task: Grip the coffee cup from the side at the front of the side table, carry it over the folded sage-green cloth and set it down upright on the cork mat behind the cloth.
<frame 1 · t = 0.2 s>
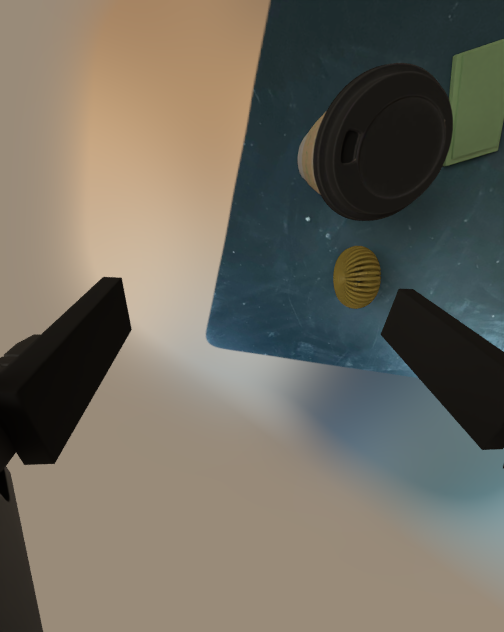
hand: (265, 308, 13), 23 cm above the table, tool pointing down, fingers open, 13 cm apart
sculpture: (343, 266, 37), on the table
coffee cup: (322, 157, 30), on the table
green cloth: (474, 107, 29), on the table
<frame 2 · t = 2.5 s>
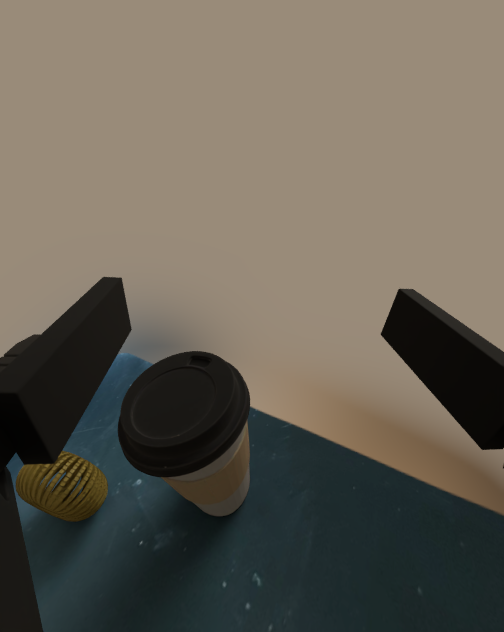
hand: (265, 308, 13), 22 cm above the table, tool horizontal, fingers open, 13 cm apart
sculpture: (86, 502, 27), on the table
coffee cup: (221, 484, 27), on the table
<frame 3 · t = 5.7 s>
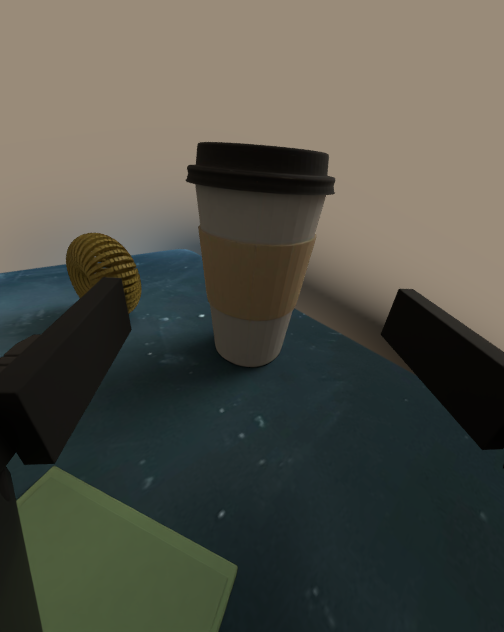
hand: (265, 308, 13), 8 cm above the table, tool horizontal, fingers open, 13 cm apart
sculpture: (113, 315, 26), on the table
coffee cup: (247, 347, 23), on the table
green cloth: (77, 605, 9), on the table
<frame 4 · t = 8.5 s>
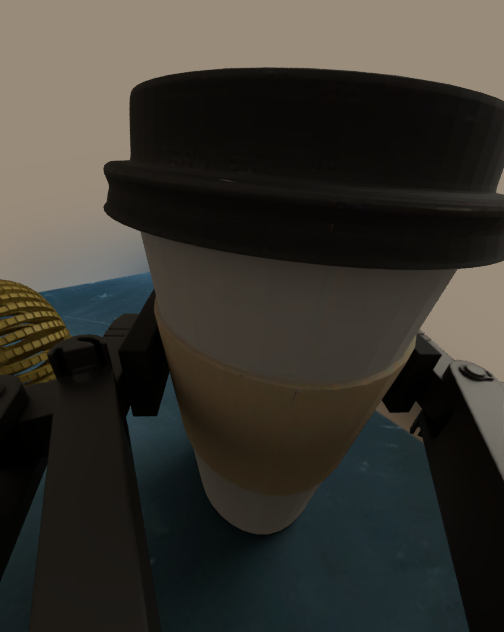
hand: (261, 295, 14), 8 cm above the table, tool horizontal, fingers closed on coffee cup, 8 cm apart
sculpture: (43, 400, 17), on the table
coffee cup: (255, 471, 14), on the table, touching gripper
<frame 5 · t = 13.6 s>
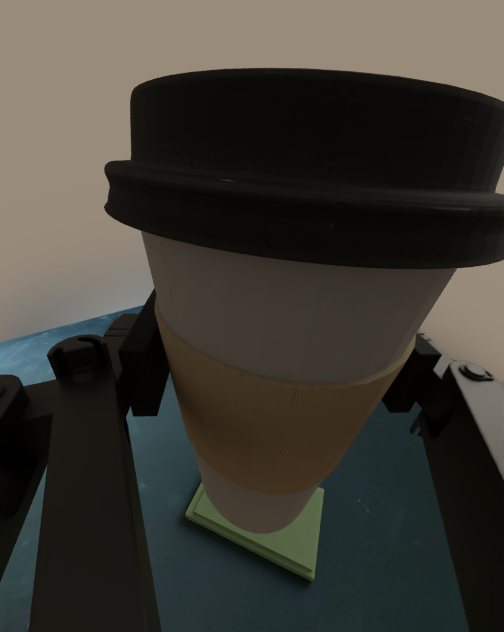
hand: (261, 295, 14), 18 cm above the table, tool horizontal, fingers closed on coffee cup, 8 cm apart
coffee cup: (256, 470, 14), point 10 cm above the table, touching gripper
green cloth: (257, 504, 21), on the table
when the fingers open (9 cm above the table, at t = 18.6 s): coffee cup stays where it is, resting on cork mat.
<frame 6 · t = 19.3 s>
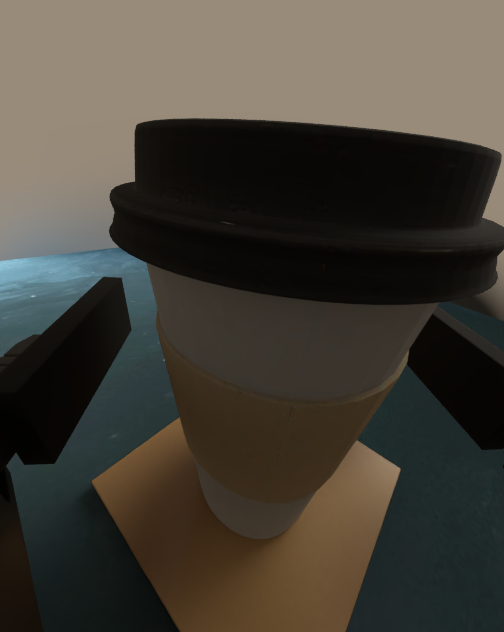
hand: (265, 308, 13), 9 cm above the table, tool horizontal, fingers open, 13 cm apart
coffee cup: (254, 476, 14), resting on cork mat
cork mat: (255, 480, 14), on the table
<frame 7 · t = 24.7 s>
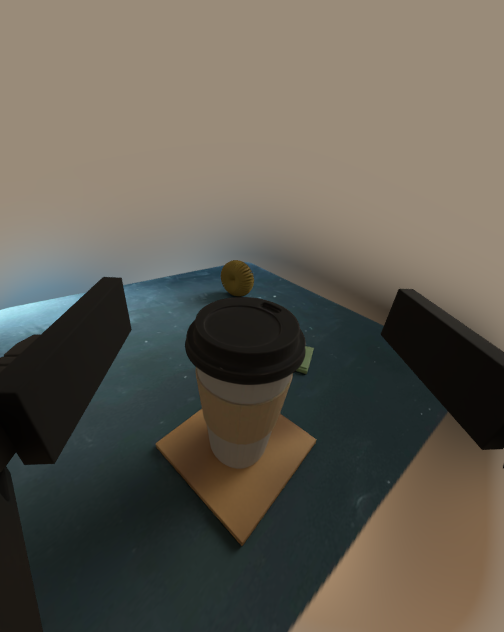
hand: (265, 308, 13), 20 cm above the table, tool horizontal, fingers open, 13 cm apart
sculpture: (236, 296, 59), on the table
coffee cup: (237, 442, 27), resting on cork mat
green cloth: (279, 353, 42), on the table
cork mat: (238, 445, 27), on the table
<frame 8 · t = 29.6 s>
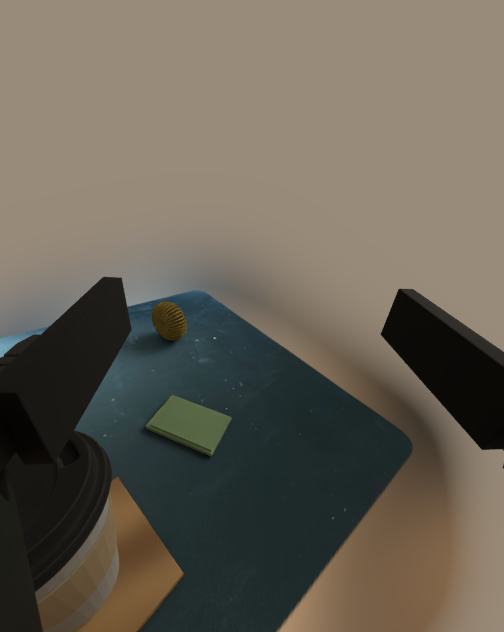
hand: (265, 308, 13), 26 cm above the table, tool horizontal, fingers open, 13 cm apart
sculpture: (171, 338, 53), on the table
coffee cup: (80, 582, 22), resting on cork mat
green cloth: (189, 424, 36), on the table
cork mat: (82, 583, 22), on the table
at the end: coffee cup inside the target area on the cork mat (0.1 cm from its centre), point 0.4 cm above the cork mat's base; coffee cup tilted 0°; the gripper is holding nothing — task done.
